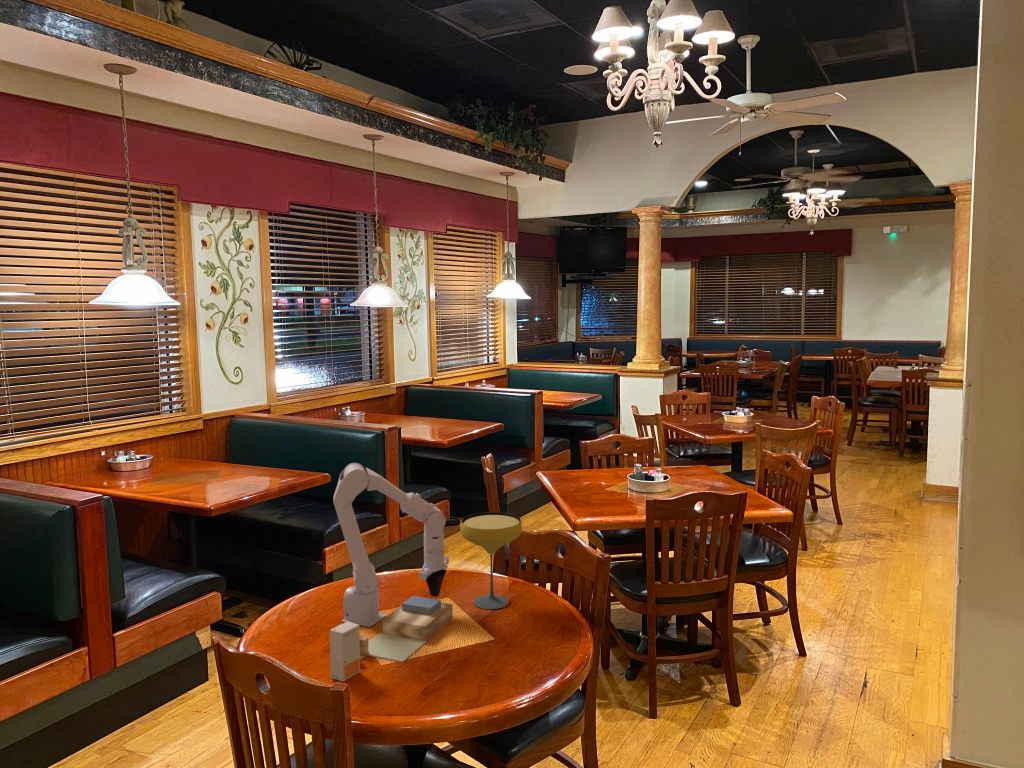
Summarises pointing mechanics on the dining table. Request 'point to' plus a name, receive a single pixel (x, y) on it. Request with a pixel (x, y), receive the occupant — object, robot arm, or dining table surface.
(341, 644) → the skincare box
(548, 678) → the dining table surface
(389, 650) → the mat
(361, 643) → the oak rack
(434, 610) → the blue-grey rectangular block
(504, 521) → the cocktail glass
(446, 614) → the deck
